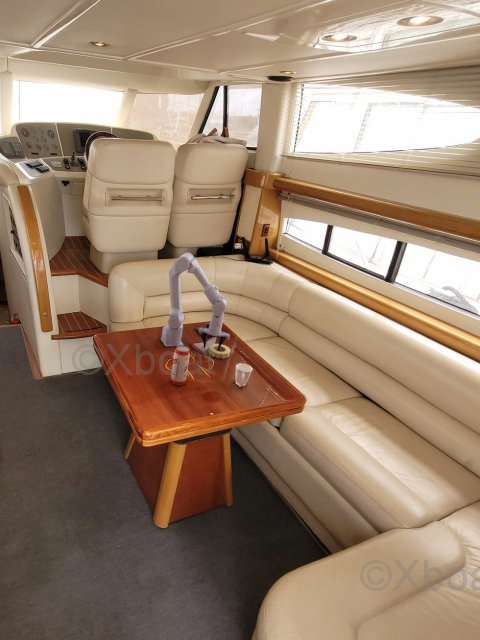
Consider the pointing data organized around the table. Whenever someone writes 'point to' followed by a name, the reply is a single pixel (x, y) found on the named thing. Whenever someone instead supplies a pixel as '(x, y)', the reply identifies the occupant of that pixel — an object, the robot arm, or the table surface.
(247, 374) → the cup
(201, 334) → the stand
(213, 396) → the table surface
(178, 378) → the beer can
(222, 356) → the yellow gear ring
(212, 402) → the table surface
